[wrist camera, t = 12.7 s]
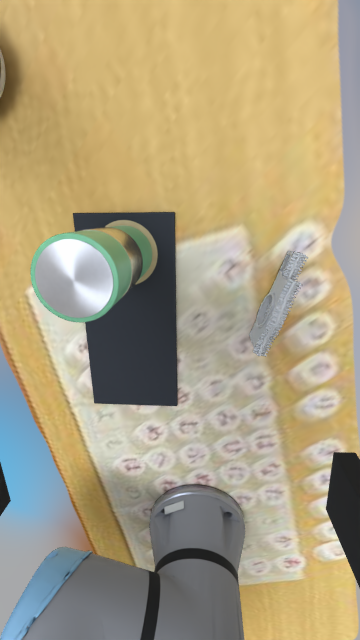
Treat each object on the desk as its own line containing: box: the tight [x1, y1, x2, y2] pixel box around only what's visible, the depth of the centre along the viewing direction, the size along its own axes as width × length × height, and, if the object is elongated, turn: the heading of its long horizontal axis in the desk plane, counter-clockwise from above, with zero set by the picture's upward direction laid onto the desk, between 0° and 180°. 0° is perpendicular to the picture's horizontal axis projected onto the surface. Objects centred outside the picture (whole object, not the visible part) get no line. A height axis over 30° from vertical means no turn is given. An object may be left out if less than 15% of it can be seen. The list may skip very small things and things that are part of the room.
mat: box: [73, 212, 177, 406], centre depth 40 cm, size 26×12×1 cm, turn 1°
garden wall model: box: [249, 251, 308, 356], centre depth 36 cm, size 12×2×6 cm, turn 160°
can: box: [31, 225, 152, 322], centre depth 30 cm, size 16×7×7 cm
